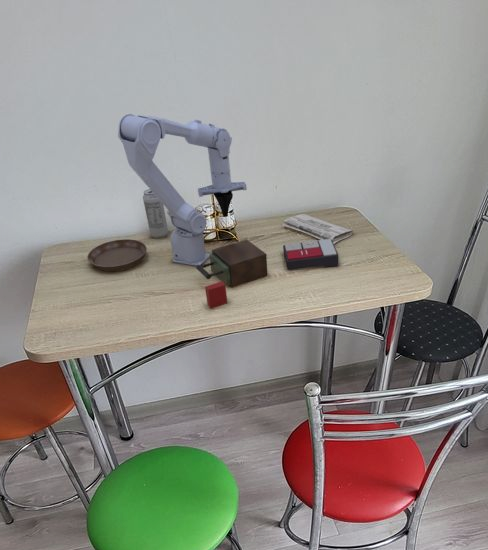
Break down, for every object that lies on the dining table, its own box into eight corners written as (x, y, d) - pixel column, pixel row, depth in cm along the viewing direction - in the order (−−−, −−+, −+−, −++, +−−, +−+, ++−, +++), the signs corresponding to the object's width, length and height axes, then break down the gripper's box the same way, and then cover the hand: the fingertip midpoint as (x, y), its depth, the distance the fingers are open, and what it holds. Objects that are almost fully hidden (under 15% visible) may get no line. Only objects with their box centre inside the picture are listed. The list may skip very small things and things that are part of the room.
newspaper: (279, 227, 165) (280, 219, 164) (304, 220, 172) (305, 213, 171) (330, 246, 151) (330, 238, 150) (354, 237, 158) (355, 230, 157)
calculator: (282, 242, 147) (331, 236, 147) (283, 255, 150) (331, 249, 150) (286, 259, 138) (338, 252, 138) (287, 272, 141) (338, 266, 141)
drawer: (210, 290, 131) (208, 273, 128) (195, 275, 138) (192, 259, 135) (259, 274, 137) (258, 258, 134) (242, 261, 145) (241, 244, 141)
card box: (211, 308, 126) (208, 290, 122) (207, 305, 127) (204, 286, 124) (227, 303, 128) (225, 284, 124) (223, 299, 129) (221, 281, 126)
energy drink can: (171, 232, 165) (163, 188, 156) (164, 239, 161) (156, 195, 152) (155, 231, 167) (146, 187, 157) (147, 238, 162) (138, 194, 153)
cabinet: (232, 287, 134) (230, 265, 130) (214, 271, 142) (211, 249, 138) (267, 275, 138) (266, 253, 134) (248, 260, 146) (246, 239, 142)
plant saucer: (130, 277, 141) (128, 268, 139) (78, 271, 145) (75, 262, 143) (158, 250, 154) (156, 241, 152) (109, 245, 158) (106, 237, 157)
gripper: (198, 178, 138) (204, 224, 146) (247, 171, 141) (250, 216, 149) (194, 171, 143) (200, 215, 152) (241, 164, 146) (245, 208, 154)
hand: (225, 215), depth 151 cm, fingers closed
